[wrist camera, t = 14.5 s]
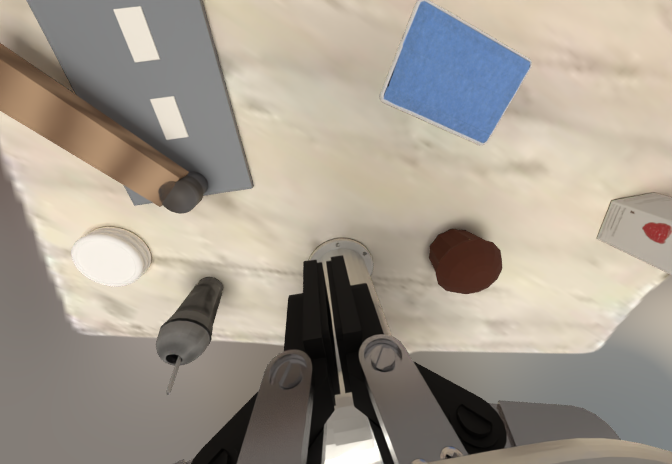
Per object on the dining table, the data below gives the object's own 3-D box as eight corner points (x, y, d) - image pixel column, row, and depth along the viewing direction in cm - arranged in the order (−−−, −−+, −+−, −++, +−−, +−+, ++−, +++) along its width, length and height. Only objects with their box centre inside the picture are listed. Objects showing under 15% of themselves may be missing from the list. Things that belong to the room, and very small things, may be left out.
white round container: (112, 281, 46) (98, 294, 43) (71, 234, 42) (52, 245, 38) (164, 266, 46) (154, 278, 43) (129, 218, 41) (115, 228, 38)
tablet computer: (376, 100, 38) (378, 100, 36) (416, -4, 33) (421, -8, 31) (480, 146, 42) (485, 147, 41) (529, 61, 37) (536, 60, 36)
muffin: (482, 218, 48) (522, 244, 39) (475, 265, 53) (509, 298, 45) (421, 228, 48) (447, 257, 39) (420, 275, 53) (442, 310, 44)
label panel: (253, 186, 41) (248, 194, 37) (138, 202, 40) (121, 213, 36) (191, -37, 29) (174, -58, 25) (25, -19, 28) (-18, -37, 24)
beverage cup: (191, 267, 46) (122, 370, 29) (233, 275, 48) (191, 377, 30) (188, 297, 49) (123, 408, 32) (227, 304, 51) (186, 412, 33)
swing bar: (210, 187, 36) (203, 194, 33) (192, 212, 37) (183, 221, 34) (-29, 23, 26) (-67, 14, 23) (-42, 66, 27) (-80, 62, 24)
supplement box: (610, 199, 49) (722, 235, 36) (654, 191, 50) (781, 224, 36) (594, 239, 54) (689, 285, 40) (635, 232, 54) (742, 275, 41)
